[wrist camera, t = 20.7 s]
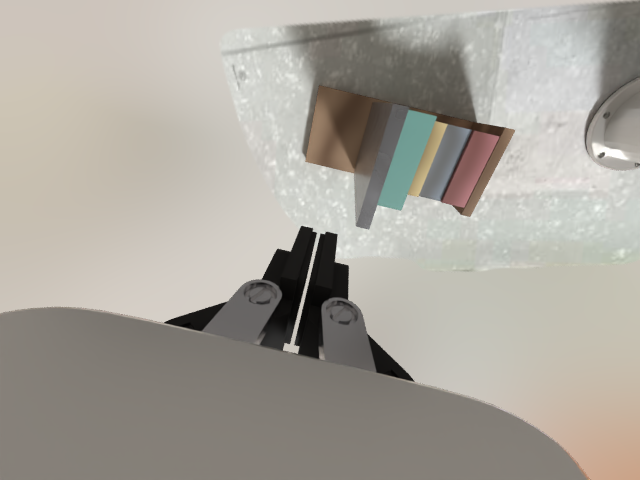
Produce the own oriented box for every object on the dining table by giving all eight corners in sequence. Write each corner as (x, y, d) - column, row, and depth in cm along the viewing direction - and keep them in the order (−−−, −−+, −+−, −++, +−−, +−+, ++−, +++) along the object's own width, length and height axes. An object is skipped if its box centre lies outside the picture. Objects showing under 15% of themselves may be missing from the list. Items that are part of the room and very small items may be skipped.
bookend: (380, 104, 38) (409, 107, 19) (361, 172, 43) (368, 229, 24) (372, 102, 38) (393, 103, 19) (354, 170, 43) (355, 226, 24)
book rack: (477, 123, 40) (515, 130, 30) (445, 192, 45) (470, 216, 36) (320, 85, 40) (310, 81, 30) (306, 159, 45) (294, 175, 36)
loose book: (408, 111, 39) (437, 116, 26) (386, 178, 43) (401, 210, 31) (382, 104, 39) (397, 106, 26) (362, 172, 43) (367, 202, 31)
